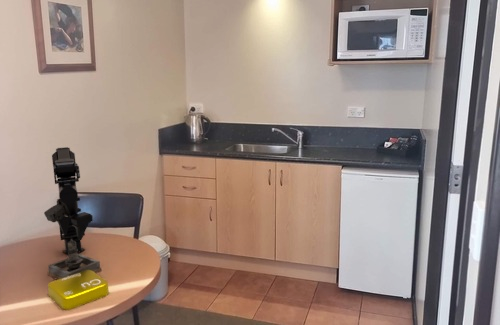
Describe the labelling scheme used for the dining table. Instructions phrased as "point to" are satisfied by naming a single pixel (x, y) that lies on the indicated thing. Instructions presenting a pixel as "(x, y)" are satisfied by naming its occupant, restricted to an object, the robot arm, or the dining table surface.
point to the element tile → (78, 289)
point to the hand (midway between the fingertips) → (72, 237)
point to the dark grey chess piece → (73, 257)
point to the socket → (60, 270)
